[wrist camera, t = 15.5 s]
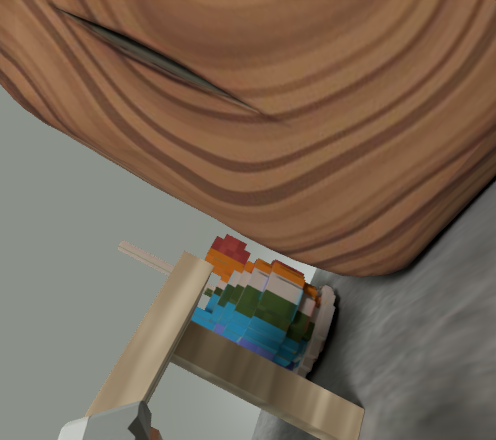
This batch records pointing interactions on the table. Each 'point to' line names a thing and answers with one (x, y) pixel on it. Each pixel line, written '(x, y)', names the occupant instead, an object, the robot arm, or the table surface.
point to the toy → (260, 305)
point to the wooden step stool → (217, 364)
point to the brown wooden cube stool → (276, 111)
